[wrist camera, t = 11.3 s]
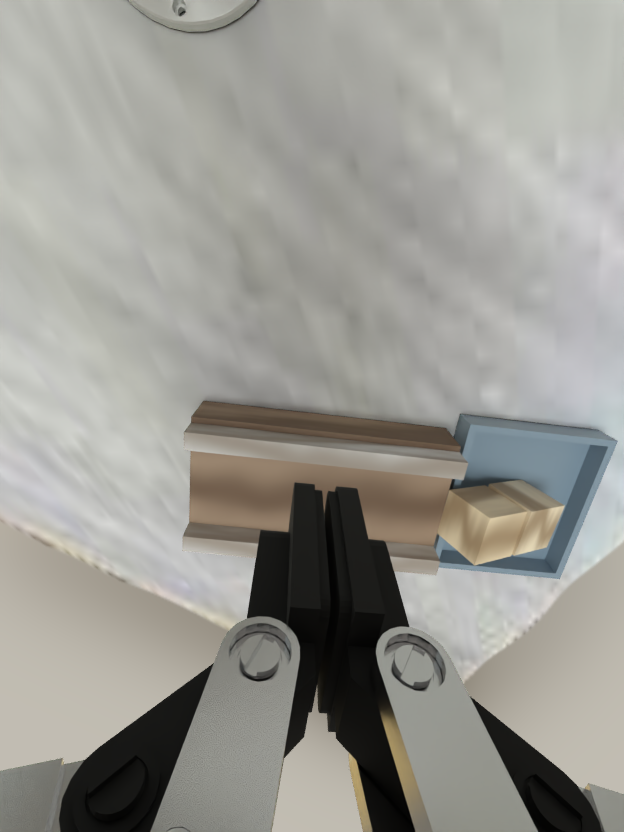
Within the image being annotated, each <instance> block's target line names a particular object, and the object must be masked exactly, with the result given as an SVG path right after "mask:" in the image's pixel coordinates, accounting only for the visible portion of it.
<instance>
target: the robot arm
mask: <svg viewBox="0 0 624 832" xmlns="http://www.w3.org/2000/svg"><path fill="white" fill-rule="evenodd" d="M128 1H129V2H130V3H131V4H132V5H133V6H134V7H135V8H137V9H138V10H139V11H141V12H142V13H143V14H145V15H146V16H148V17H149V18H150V19H152V20H154V21H156V22H158V23H161V24H163V25H165V26H167V27H169V28H173V29H178V30H183V31H187V32H194V31H209V30H212V29H216V28H220V27H223V26H225V25H227V24H229V23H231V22H232V21H234V20H236V19H238V18H240V17H241V16H242V15H243V14H244V13H245V12H246V11H248V10H249V9H250V8H251V7H252V6H253V5H254V4H255V3H256V2H257V0H128ZM182 11H185V12H186V13H185V14H184V15H183V16H180V13H181V12H182ZM316 687H317V688H318V710H319V713H327V719H328V731H329V732H336V739H337V740H338V741H339V742H340V743H341V744H342V745H343V747H344V748H345V749H346V750H347V751H348V752H349V767H350V772H351V777H352V781H353V786H354V791H355V796H356V800H357V805H358V810H359V815H360V819H361V824H362V829H363V832H624V794H621V793H618V792H615V791H612V790H608V789H605V788H602V787H599V786H596V785H593V784H589V783H588V785H587V786H586V787H585V789H584V788H581V787H578V786H577V785H576V784H575V783H574V782H573V781H572V780H571V779H570V778H569V777H568V776H567V775H566V774H565V773H564V772H563V771H561V770H560V769H559V768H558V767H557V766H555V765H554V764H553V763H552V762H550V761H549V760H548V759H547V758H546V757H544V756H543V755H542V754H541V753H539V752H538V751H537V750H535V749H534V748H533V747H532V746H531V745H529V744H528V743H527V742H526V741H525V740H523V739H522V738H521V737H520V736H518V735H517V734H516V733H514V732H513V731H512V730H511V729H510V728H508V727H507V726H506V725H505V724H504V723H502V722H501V721H500V720H499V719H497V718H496V717H495V716H494V715H492V714H491V713H490V712H489V711H487V710H486V709H485V708H484V707H483V706H481V705H480V704H479V703H478V702H476V701H475V700H474V699H472V698H471V697H470V696H469V694H468V692H467V690H466V688H465V686H464V684H463V682H462V680H461V678H460V676H459V674H458V672H457V670H456V668H455V666H454V664H453V662H452V660H451V658H450V657H449V655H448V654H447V652H446V651H445V649H444V647H443V646H442V645H441V644H440V643H439V642H437V641H436V640H435V639H434V638H433V637H431V636H430V635H428V634H427V633H425V632H423V631H421V630H418V629H415V628H412V627H409V624H408V620H407V617H406V613H405V609H404V606H403V602H402V599H401V595H400V591H399V588H398V584H397V580H396V577H395V573H394V570H393V566H392V562H391V559H390V555H389V552H388V548H387V545H386V542H385V541H384V540H372V539H368V535H367V530H366V525H365V521H364V516H363V512H362V507H361V503H360V498H359V494H358V490H357V488H350V487H339V486H336V488H335V492H334V491H328V493H327V498H326V504H325V510H324V506H323V493H322V490H315V484H307V483H297V482H294V488H293V496H292V504H291V512H290V521H289V529H288V532H279V531H268V530H260V535H259V542H258V549H257V555H256V562H255V569H254V575H253V582H252V588H251V595H250V602H249V608H248V615H247V619H245V620H243V621H241V622H239V623H237V624H236V625H235V626H233V627H232V628H231V629H230V630H229V631H228V632H227V634H226V636H225V637H224V639H223V641H222V643H221V646H220V648H219V651H218V654H217V656H216V659H215V662H214V663H213V664H212V665H211V666H209V667H208V668H207V669H205V670H204V671H203V672H201V673H200V674H198V675H197V676H196V677H194V678H193V679H192V680H190V681H189V682H187V683H186V684H185V685H184V686H182V687H181V688H179V689H178V690H177V691H175V692H174V693H172V694H171V695H170V696H168V697H167V698H166V699H164V700H163V701H162V702H160V703H159V704H157V705H156V706H155V707H153V708H152V709H151V710H150V711H148V712H147V713H145V714H144V715H143V716H141V717H140V718H138V719H137V720H136V721H134V722H133V723H132V724H130V725H129V726H128V727H126V728H125V729H124V730H122V731H121V732H119V733H118V734H117V735H115V736H114V737H113V738H111V739H110V740H108V741H107V742H106V743H104V744H103V745H102V746H100V747H99V748H98V749H97V750H95V751H94V752H93V753H92V754H91V755H90V756H89V757H88V758H87V759H86V760H83V761H78V762H74V763H69V764H64V762H63V758H61V759H56V760H51V761H46V762H42V763H37V764H32V765H27V766H23V767H18V768H13V769H8V770H3V771H0V832H272V826H273V820H274V814H275V808H276V802H277V796H278V790H279V784H280V778H281V772H282V766H283V760H284V758H285V757H286V756H287V754H288V753H289V752H290V751H291V750H292V749H293V748H294V747H295V746H296V745H297V744H298V743H299V742H300V740H301V739H302V738H303V737H304V734H305V729H306V723H307V718H308V713H309V712H312V708H313V702H314V697H315V692H316Z"/></svg>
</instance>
